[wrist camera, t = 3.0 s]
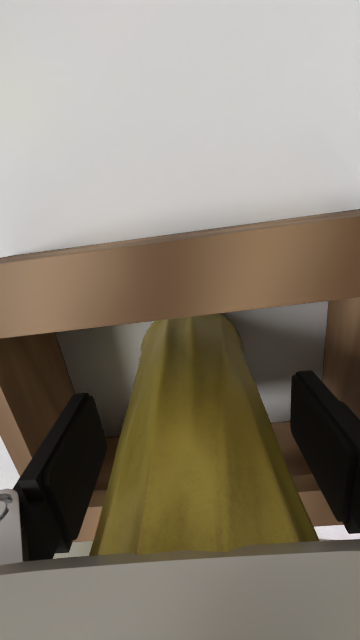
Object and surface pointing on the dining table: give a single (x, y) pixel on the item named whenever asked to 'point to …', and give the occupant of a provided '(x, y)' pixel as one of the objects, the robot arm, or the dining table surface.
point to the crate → (174, 302)
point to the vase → (197, 452)
